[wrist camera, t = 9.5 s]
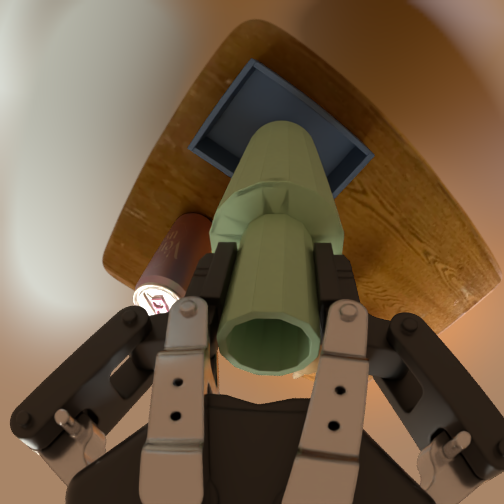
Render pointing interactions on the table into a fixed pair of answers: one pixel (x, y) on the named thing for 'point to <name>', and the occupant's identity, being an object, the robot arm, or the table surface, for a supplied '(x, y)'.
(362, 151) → the bin
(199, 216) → the beverage can
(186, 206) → the table surface
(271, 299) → the bottle
